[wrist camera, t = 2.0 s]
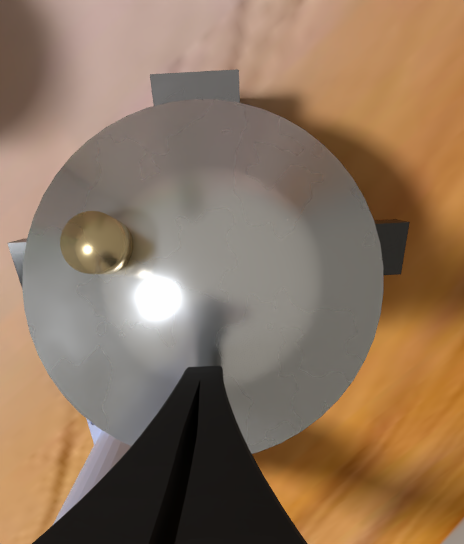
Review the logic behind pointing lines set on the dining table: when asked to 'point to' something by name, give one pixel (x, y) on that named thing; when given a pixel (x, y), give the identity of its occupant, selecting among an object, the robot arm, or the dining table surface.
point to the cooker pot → (227, 89)
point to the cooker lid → (203, 269)
